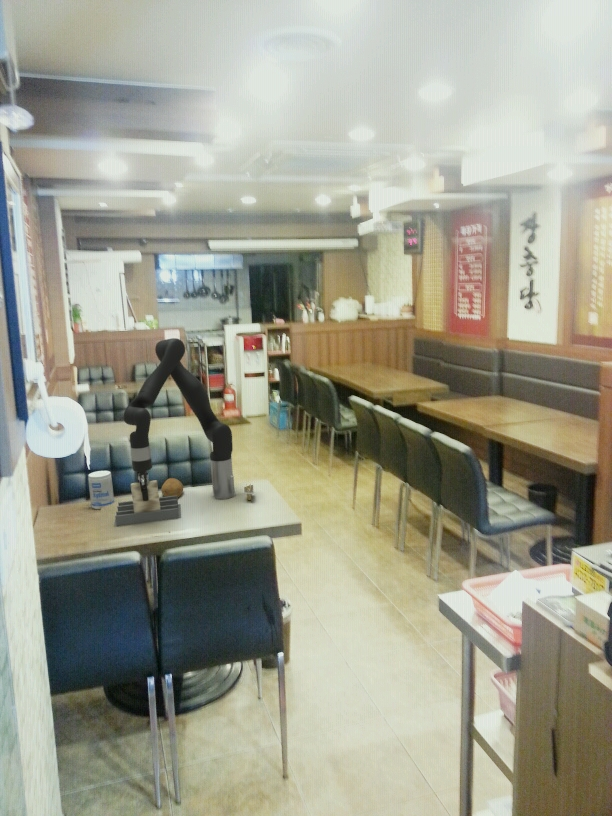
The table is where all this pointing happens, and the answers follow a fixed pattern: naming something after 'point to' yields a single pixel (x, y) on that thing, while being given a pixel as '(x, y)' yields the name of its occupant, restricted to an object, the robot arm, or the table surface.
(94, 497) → the supplement tub
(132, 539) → the table surface
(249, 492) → the mottled beige figurine
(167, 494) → the potato
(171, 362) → the robot arm
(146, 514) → the rack
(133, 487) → the sheet
